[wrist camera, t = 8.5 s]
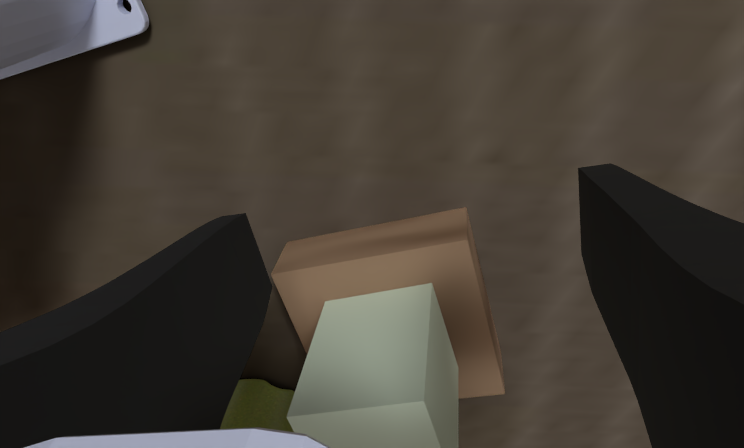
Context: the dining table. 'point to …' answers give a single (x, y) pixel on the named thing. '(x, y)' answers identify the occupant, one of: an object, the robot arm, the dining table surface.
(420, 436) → the sage block
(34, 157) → the dining table surface
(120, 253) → the dining table surface
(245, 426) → the plant pot
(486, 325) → the walnut slab
